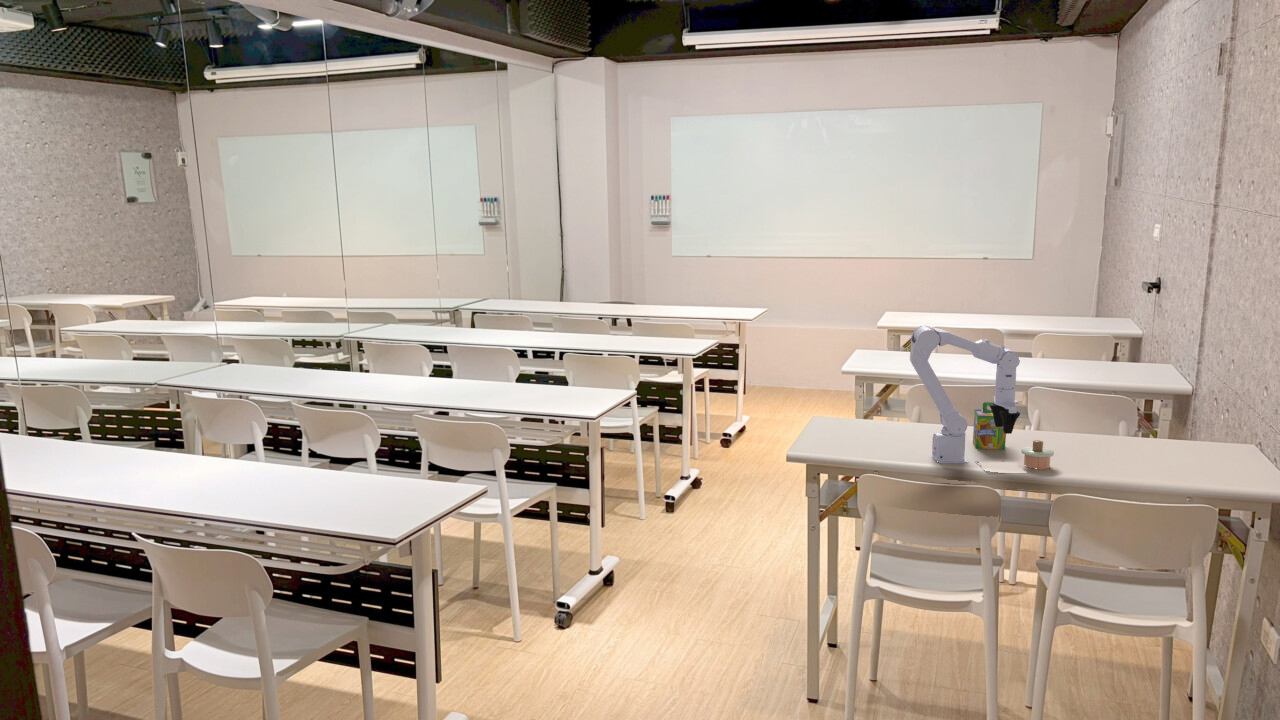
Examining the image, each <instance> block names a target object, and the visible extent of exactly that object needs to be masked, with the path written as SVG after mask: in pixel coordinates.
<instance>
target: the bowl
mask: <svg viewBox="0 0 1280 720" xmlns="http://www.w3.org/2000/svg"><path fill="white" fill-rule="evenodd" d="M1023 465H1026V466H1027V467H1026V466H1025V467H1026V468H1028V467H1031V468H1037V469H1045V470H1047V469H1046V468H1049V467H1051V457H1032V456H1028V455H1025V454H1024V460H1023ZM1031 468H1030V469H1031ZM1037 469H1036V470H1037ZM1049 469H1050V468H1049Z"/></svg>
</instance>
